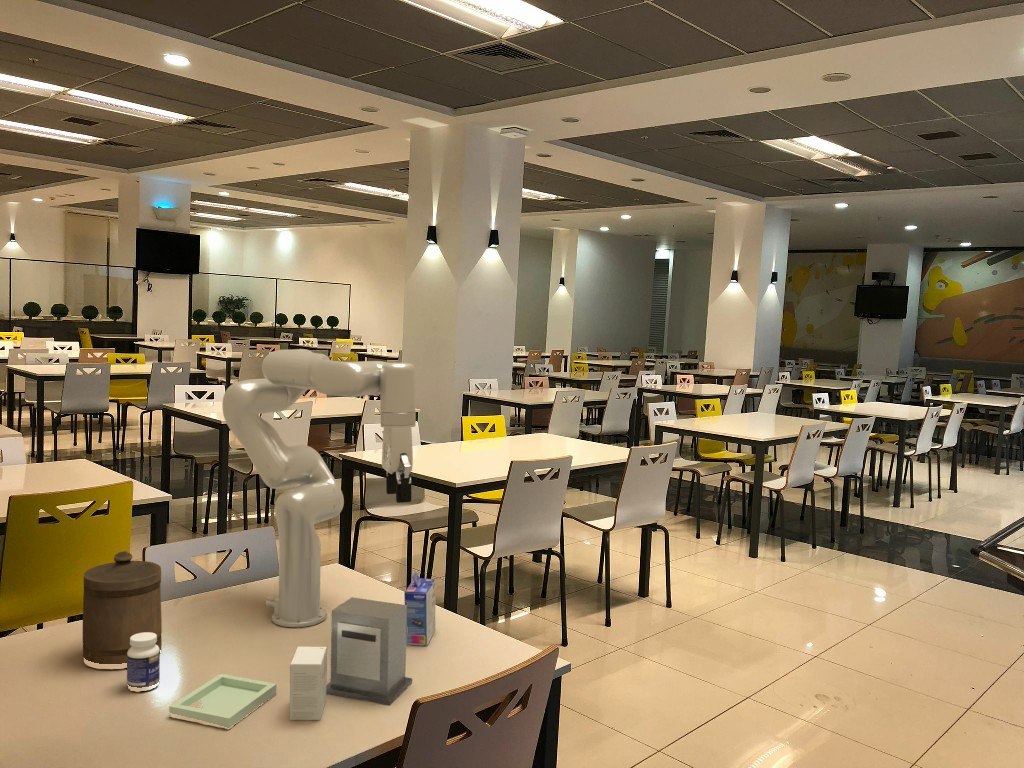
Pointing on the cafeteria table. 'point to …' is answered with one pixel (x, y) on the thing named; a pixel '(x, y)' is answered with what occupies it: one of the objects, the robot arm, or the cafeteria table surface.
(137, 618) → the wooden container
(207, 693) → the tray
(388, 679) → the dispenser unit
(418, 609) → the ink cartridge box
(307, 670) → the small box
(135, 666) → the pill bottle
